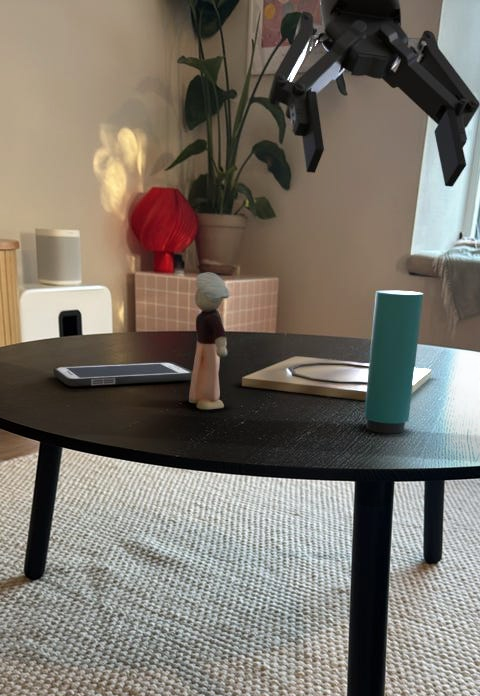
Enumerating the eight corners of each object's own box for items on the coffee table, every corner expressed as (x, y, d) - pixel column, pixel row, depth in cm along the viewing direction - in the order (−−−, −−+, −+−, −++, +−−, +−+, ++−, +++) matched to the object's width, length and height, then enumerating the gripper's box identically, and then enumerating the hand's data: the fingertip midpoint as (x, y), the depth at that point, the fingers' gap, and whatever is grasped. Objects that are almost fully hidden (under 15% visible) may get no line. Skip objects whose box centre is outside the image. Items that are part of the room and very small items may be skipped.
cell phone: (196, 381, 86) (196, 372, 86) (68, 388, 80) (67, 379, 79) (171, 369, 92) (171, 361, 92) (51, 375, 86) (51, 366, 86)
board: (430, 377, 94) (431, 368, 94) (399, 404, 78) (401, 393, 78) (294, 363, 100) (295, 354, 100) (241, 386, 85) (241, 375, 85)
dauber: (411, 427, 70) (427, 292, 65) (402, 436, 66) (418, 295, 62) (369, 421, 71) (381, 289, 67) (358, 430, 68) (370, 292, 63)
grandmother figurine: (173, 399, 77) (173, 269, 73) (206, 396, 79) (208, 269, 74) (208, 415, 71) (211, 275, 67) (243, 412, 73) (248, 275, 68)
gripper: (454, 47, 81) (490, 209, 74) (227, 14, 75) (243, 186, 69) (490, -22, 74) (533, 150, 67) (242, -64, 68) (263, 119, 62)
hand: (387, 168), depth 68 cm, fingers open, 13 cm apart
